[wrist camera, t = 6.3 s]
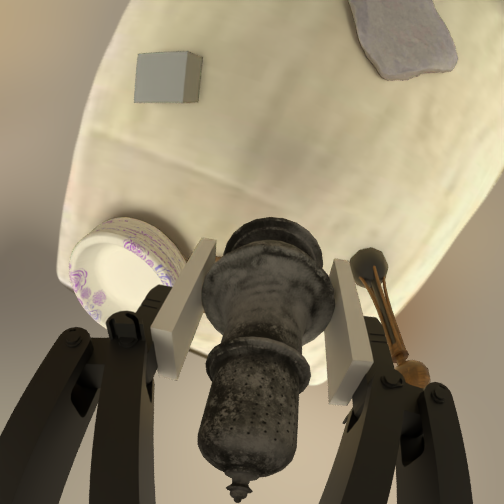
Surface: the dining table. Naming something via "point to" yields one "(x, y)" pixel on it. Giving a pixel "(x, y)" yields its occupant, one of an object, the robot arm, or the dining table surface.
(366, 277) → the wooden tabletop sculpture
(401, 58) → the stone block
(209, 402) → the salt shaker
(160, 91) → the slate cube
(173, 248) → the paper bowls
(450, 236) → the dining table surface
